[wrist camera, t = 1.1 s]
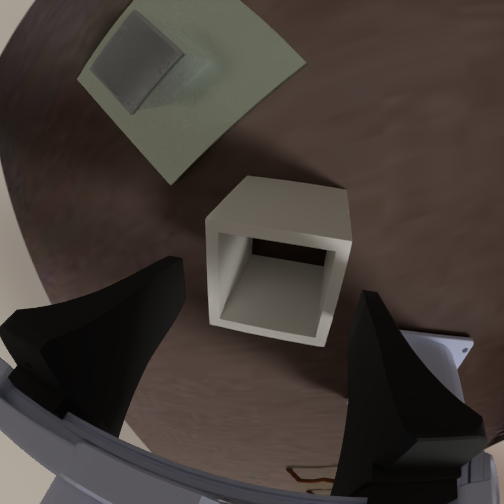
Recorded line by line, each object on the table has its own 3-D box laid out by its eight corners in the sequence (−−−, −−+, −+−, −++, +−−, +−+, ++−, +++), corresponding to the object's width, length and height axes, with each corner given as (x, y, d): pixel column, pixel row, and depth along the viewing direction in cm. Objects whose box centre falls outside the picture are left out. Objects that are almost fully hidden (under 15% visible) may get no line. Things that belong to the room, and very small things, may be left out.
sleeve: (330, 274, 18) (324, 347, 13) (243, 259, 19) (209, 324, 14) (346, 189, 15) (352, 241, 10) (247, 175, 16) (205, 218, 11)
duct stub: (307, 64, 13) (298, 53, 9) (177, 181, 18) (137, 208, 14) (183, -41, 10) (143, -65, 7) (85, 78, 15) (36, 84, 12)
